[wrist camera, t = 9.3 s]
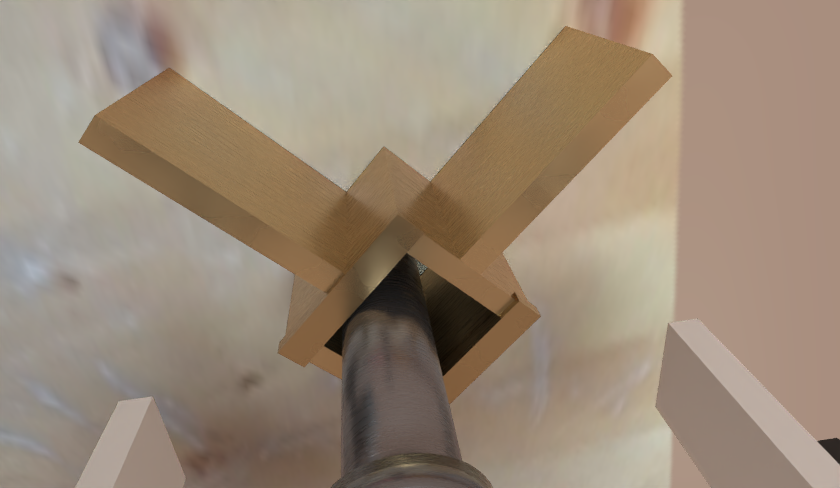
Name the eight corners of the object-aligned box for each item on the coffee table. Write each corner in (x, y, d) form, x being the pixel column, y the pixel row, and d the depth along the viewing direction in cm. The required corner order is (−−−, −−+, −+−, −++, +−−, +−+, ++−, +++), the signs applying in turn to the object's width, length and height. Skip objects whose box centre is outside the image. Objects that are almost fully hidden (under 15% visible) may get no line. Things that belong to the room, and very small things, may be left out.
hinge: (121, 142, 19) (29, 219, 13) (342, -203, 15) (341, -292, 10) (404, 319, 23) (421, 430, 18) (623, 85, 20) (728, 135, 14)
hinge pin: (337, 286, 22) (328, 628, 11) (322, 204, 21) (295, 507, 9) (426, 275, 23) (507, 598, 11) (420, 192, 21) (507, 475, 10)
